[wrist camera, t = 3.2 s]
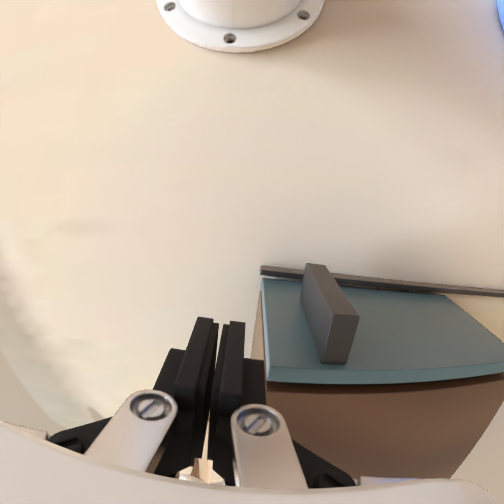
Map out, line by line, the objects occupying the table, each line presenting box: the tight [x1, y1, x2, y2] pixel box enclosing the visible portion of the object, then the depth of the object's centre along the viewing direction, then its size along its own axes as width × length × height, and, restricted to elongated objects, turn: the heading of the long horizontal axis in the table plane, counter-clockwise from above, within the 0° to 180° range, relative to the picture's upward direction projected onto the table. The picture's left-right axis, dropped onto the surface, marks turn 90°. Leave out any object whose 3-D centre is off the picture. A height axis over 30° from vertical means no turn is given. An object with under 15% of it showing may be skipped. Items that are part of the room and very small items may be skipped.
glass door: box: [261, 263, 504, 384], centre depth 17 cm, size 3×16×11 cm, turn 83°
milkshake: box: [179, 421, 211, 484], centre depth 22 cm, size 5×5×10 cm
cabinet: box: [250, 266, 504, 479], centre depth 19 cm, size 12×28×12 cm, turn 83°
